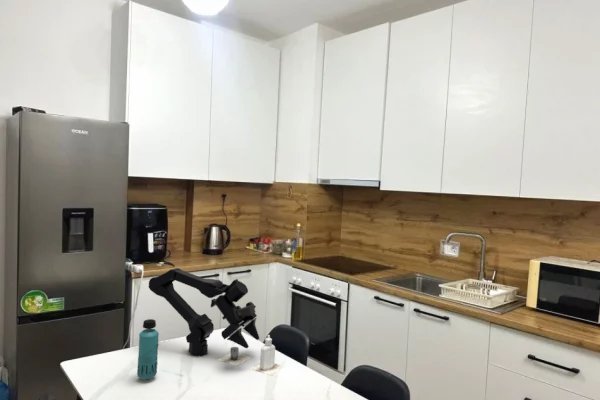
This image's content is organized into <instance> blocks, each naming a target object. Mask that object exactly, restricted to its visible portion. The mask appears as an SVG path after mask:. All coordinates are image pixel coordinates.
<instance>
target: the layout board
mask: <svg viewBox="0 0 600 400" xmlns="http://www.w3.org/2000/svg"><path fill="white" fill-rule="evenodd" d="M230 354H231V351H230V352H229V353H227V354H226V355H224V356H222V357H220V358H219V359H217V361H219V362H223V363H226V364H230V365H233V366H237V367H238V366H240V365H241V364H243V363H244V362H246V361H247V360H249V359H250V358H251V356H247V355H243V354H239V353H238V360H231V359H230ZM282 368H284V365H282V364H278V363H275V362H274V367H273V368H271V369H268V370H262V369H260V362H259V363H257V364H256V365H255V366H253V367H252V368H250V371H255V372H258V373H262V374H265V375H269V376H274V375H275V374H277V372H279V371H280V370H281V369H282Z"/></svg>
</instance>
